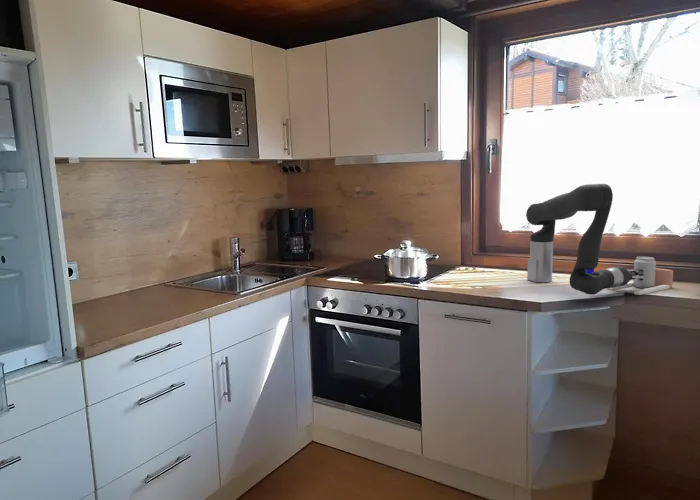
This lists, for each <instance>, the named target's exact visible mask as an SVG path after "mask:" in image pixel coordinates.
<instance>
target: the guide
mask: <svg viewBox="0 0 700 500" xmlns="http://www.w3.org/2000/svg"><path fill="white" fill-rule="evenodd" d="M673 283H674V270H672V269H666V268H661V267H660V268H658V267H656V270H655V285H654V286H653V287H651V288H640V289H637V290H634V291H633V292H634V293H633V295H637V296H640V295H646V294H650V293H655V292H658V291H663V290H669V289H673ZM632 286H635V285H634V284H633V280H631V281H629V282H628V283H627V284H626V285H624V286H619V287H614V288H606V289H607V290H611V291H613V290H618V289H622V288H628V287H632Z"/></svg>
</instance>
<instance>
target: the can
mask: <svg viewBox="0 0 700 500" xmlns="http://www.w3.org/2000/svg"><path fill="white" fill-rule="evenodd" d="M633 263H634V264H633V270H638V269H641V270H643V271H644V272H643V274H644V275H643V280H642V281H641V280H638V278H635V279H634V280H632V281H633V284H634V285H633V286H634V287H636V288H639V289H646V288H651V287H655V286H654V285H655V270H656V268H657V262H656V260H655V258H654V257H650V256H636V259H635V260H634V261H633Z"/></svg>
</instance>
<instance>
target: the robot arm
mask: <svg viewBox="0 0 700 500" xmlns="http://www.w3.org/2000/svg"><path fill="white" fill-rule="evenodd" d="M613 198H614V195H613V190H612V187H611V186H610V185H609V184H607V183H591V184H590V183H588V184H581V185H579V186H577V187H576V188H575V189H574V188H573V190H571V191H569V192H567V193H566V192H565V193H562V194H559V195H556V196H554V197H553V198H549V199H547V200H545V201H543V202H538V203H532V204H530V205H529V207H528V208H527V210H526V216H525V217H526V220H527V222H528V223H529V224H530V225H532V226H542V227H541V228H540V229H539V230H538V231H536V232H533V233H531V234H530V236H529V237H530V239H529V243H530V245H529V246H530V247H529V257H528V258H527V270H526V271H527V272H526V273H527V276H526V279H527V281H530V282H533V283H551V282H553V264H554V263H553V261H554V259H553V257H554V255H553V254H554V238H555V232H556V221H561V220H566V219H569V218H571V217H574V216H575V215H576V214H577V213H578V212H594V213H595V214H594V218H593V220H592V222H591V224H590V225H589V227H588V228H587V230H586V231H585V232H584V234H583V235H582V237H581V238H580V241H579V243H578V247H577V255H576V261H575V264H574V267H573V270H572V272H571V273H570V277H569V281H568V282H569V286H570V287H571V288H572V289H573V290H575V291H578V292H581V293H584V294H587V295H596V294H598V293H600V292H601V291H602V290H605V289H607V288H614V287H619V286H624V285H626V284H627V283H628V282H630V281H633V280H634V279H635V278H638V280H641V281H642V280H643V275H644V274H643V272H644V271H643V270H641V269H638V270H634V269H630V268H629V269H627V268H626V267H625V266H622V265H620V266H613V267H612V266H611V267H608V268H604V269H599V270H595V268H597V267H598V265H599V259H600V250H601V243H602V238H603V235H604V233H605V228H606V225H607V222H608V219H609V215H610V212H611V207H612V206H613V205H612V204H613ZM586 269H594V272H593V273H592V274H588V273H585V271H586Z"/></svg>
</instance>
